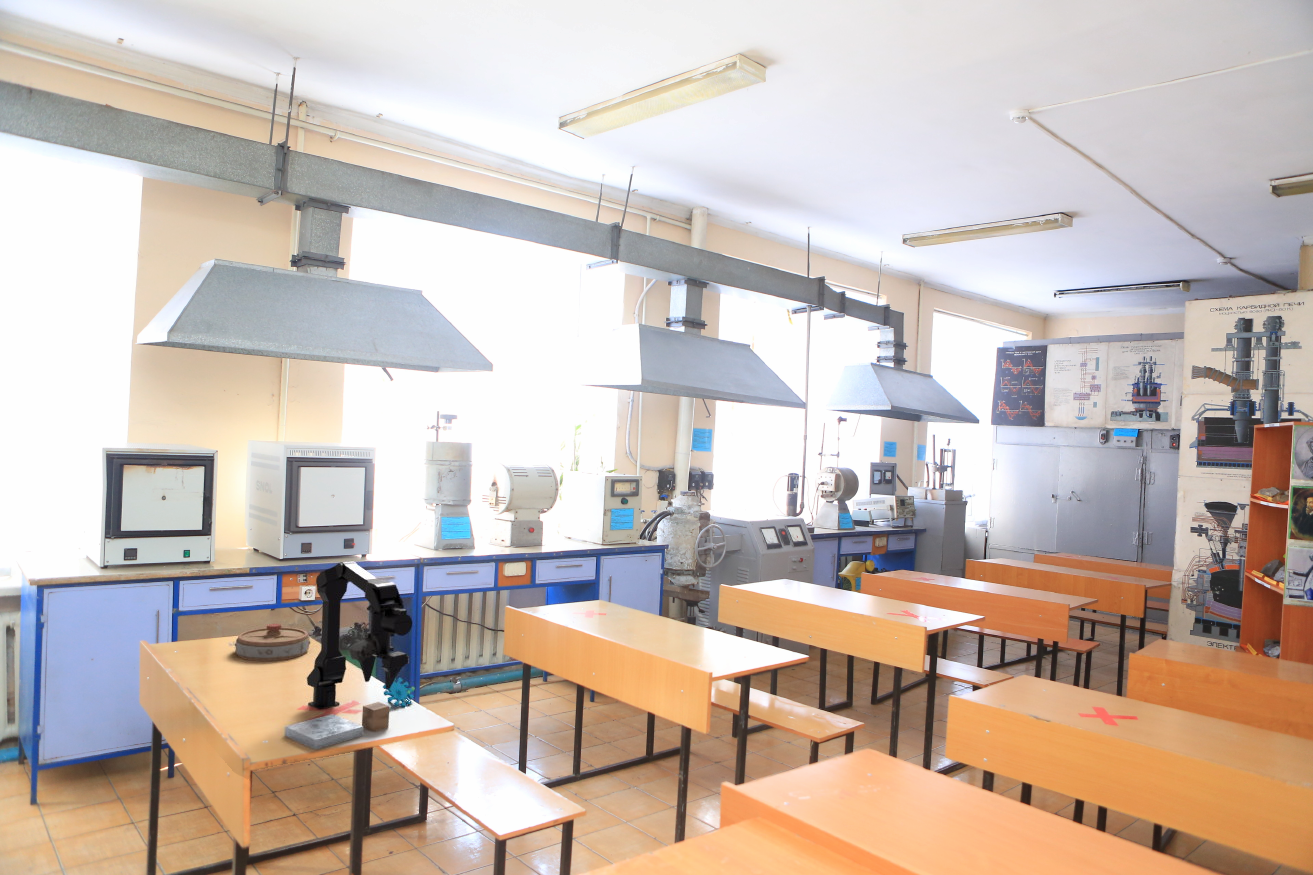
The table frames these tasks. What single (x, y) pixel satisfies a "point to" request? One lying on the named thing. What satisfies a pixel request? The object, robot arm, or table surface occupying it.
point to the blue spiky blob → (399, 692)
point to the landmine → (272, 643)
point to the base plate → (323, 731)
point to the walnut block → (375, 716)
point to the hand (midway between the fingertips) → (377, 685)
